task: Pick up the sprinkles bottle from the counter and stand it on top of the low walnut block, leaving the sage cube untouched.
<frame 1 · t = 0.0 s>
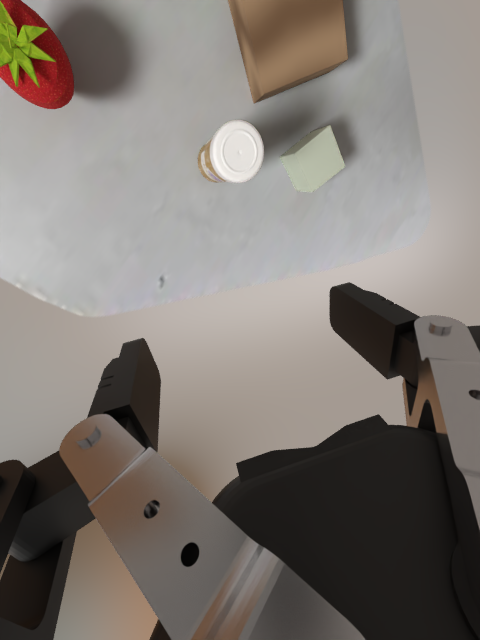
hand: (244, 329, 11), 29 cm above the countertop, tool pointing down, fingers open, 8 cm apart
strawberry: (52, 77, 27), on the countertop
walnut block: (281, 31, 29), on the countertop
sprinkles bottle: (215, 162, 33), on the countertop
sage cube: (302, 162, 36), on the countertop
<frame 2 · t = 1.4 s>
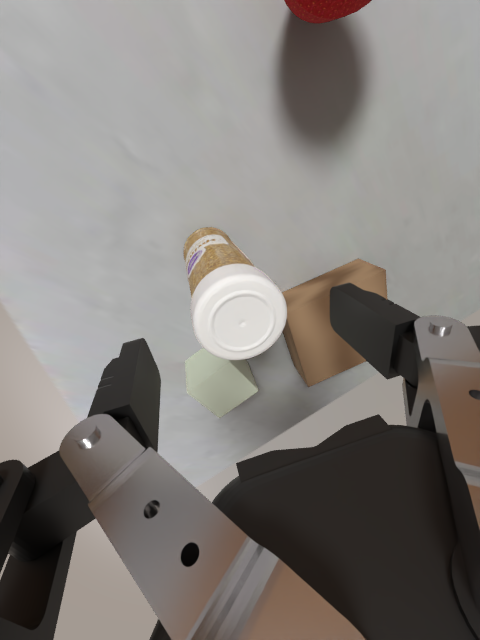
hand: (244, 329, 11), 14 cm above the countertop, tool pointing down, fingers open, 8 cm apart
walnut block: (323, 316, 29), on the countertop
sprinkles bottle: (208, 252, 24), on the countertop
sage cube: (216, 360, 29), on the countertop
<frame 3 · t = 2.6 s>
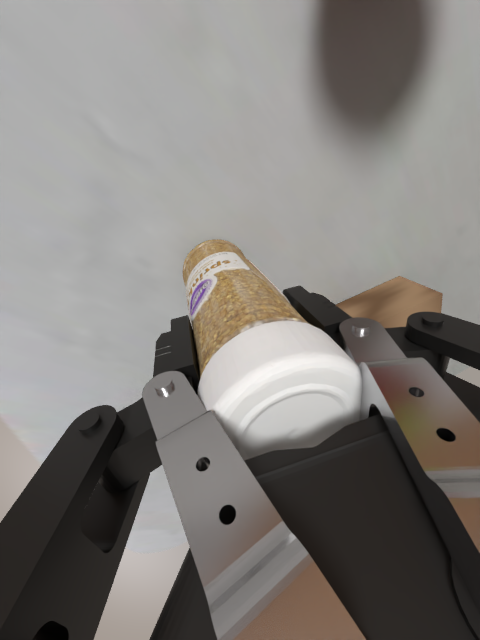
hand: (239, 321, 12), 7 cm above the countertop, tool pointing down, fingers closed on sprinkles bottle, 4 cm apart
walnut block: (352, 344, 24), on the countertop
sprinkles bottle: (215, 271, 18), on the countertop, touching gripper
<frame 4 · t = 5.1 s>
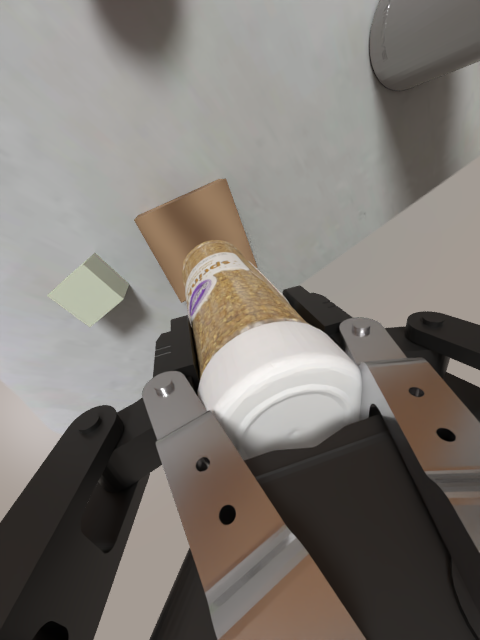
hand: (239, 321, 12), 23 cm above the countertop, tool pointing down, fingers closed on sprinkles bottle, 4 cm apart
walnut block: (197, 239, 32), on the countertop
sprinkles bottle: (214, 271, 18), point 15 cm above the countertop, touching gripper
sage cube: (97, 281, 31), on the countertop
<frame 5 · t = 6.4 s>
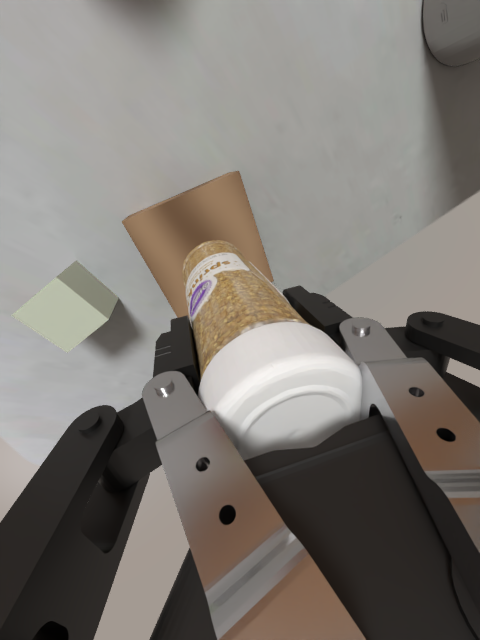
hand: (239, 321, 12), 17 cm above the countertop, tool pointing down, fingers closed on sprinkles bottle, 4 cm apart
walnut block: (202, 245, 26), on the countertop
sprinkles bottle: (214, 272, 18), point 9 cm above the countertop, touching gripper
sage cube: (80, 295, 26), on the countertop
when the fingers open (12 cm above the countertop, at t = 7.6 s): sprinkles bottle drops 1 cm, resting on walnut block.
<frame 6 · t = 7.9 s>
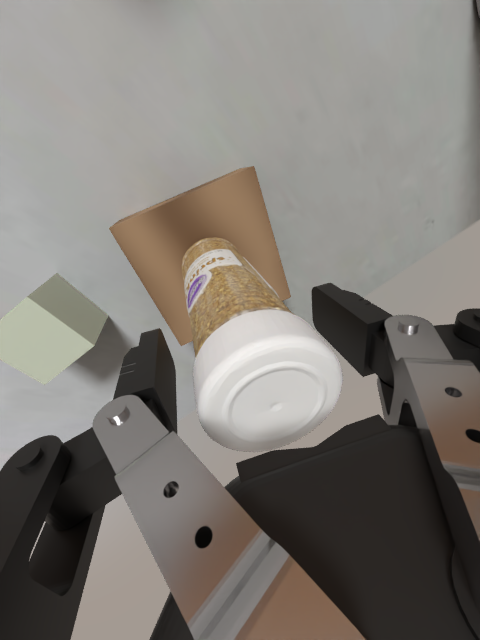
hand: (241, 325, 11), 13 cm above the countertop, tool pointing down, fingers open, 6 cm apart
walnut block: (206, 254, 22), on the countertop
sprinkles bottle: (212, 267, 19), point 4 cm above the countertop, touching walnut block
sage cube: (62, 312, 22), on the countertop
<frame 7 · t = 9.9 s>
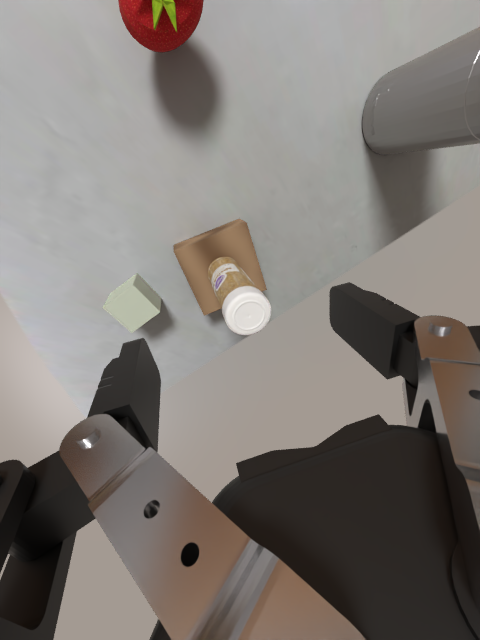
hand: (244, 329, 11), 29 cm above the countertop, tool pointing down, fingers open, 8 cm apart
strawberry: (163, 31, 27), on the countertop
walnut block: (219, 264, 39), on the countertop
sprinkles bottle: (223, 272, 36), point 4 cm above the countertop, touching walnut block
sage cube: (136, 295, 38), on the countertop
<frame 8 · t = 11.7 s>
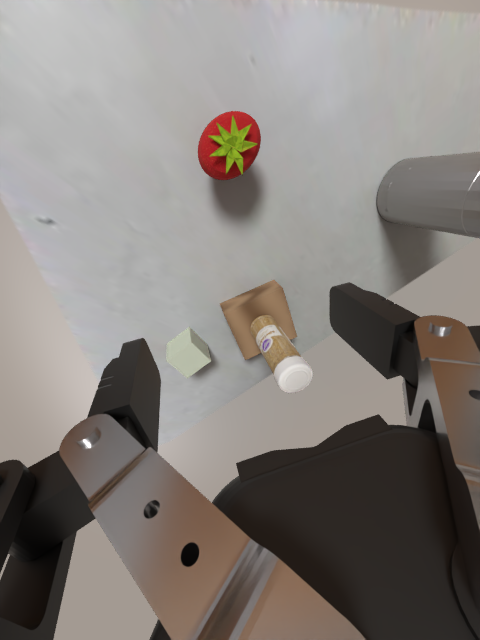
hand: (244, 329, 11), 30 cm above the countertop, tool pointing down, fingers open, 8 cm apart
strawberry: (220, 152, 34), on the countertop
walnut block: (256, 315, 46), on the countertop
sprinkles bottle: (262, 325, 43), point 4 cm above the countertop, touching walnut block
sage cube: (187, 344, 46), on the countertop
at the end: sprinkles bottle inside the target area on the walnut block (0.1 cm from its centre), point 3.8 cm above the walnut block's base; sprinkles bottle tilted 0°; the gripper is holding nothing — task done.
